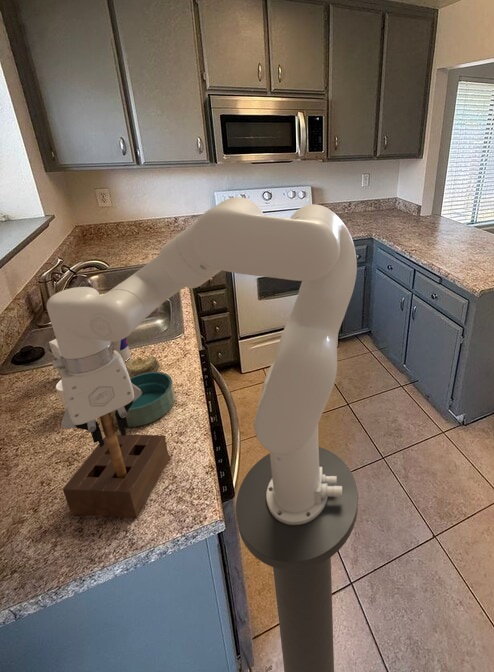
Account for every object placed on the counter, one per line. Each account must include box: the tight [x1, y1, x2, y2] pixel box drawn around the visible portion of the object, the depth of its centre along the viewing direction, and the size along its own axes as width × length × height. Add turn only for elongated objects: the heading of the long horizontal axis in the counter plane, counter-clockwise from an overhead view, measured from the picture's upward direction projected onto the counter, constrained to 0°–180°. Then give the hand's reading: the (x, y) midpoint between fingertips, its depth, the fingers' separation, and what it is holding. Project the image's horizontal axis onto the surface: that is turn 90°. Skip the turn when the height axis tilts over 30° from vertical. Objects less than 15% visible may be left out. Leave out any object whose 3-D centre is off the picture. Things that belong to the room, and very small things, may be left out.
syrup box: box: [48, 338, 63, 380], centre depth 109 cm, size 6×6×14 cm
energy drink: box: [112, 337, 132, 364], centre depth 119 cm, size 5×5×12 cm
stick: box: [99, 412, 127, 478], centre depth 71 cm, size 2×2×22 cm
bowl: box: [111, 371, 176, 428], centre depth 98 cm, size 15×15×6 cm
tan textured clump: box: [125, 354, 160, 378], centre depth 114 cm, size 10×10×5 cm
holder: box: [62, 433, 170, 519], centre depth 76 cm, size 14×14×7 cm
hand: (111, 436), depth 69 cm, fingers open, 3 cm apart
